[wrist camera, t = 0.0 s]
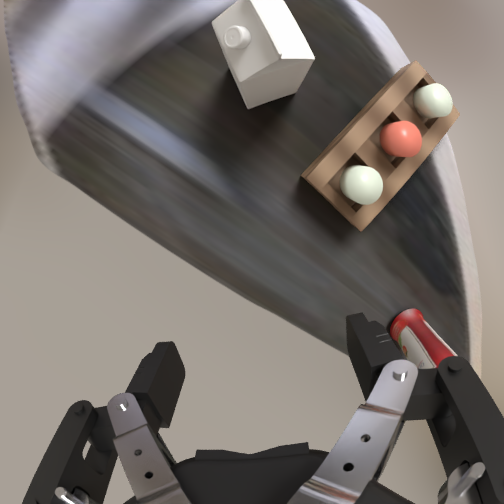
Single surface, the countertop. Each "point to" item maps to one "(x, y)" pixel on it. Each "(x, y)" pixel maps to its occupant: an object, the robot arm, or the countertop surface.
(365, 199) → the pale green sphere
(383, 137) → the red ball
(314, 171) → the wooden ball rack
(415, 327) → the liquor
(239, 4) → the milk carton
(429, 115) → the cream white sphere
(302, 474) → the robot arm
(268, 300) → the countertop surface
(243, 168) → the countertop surface
